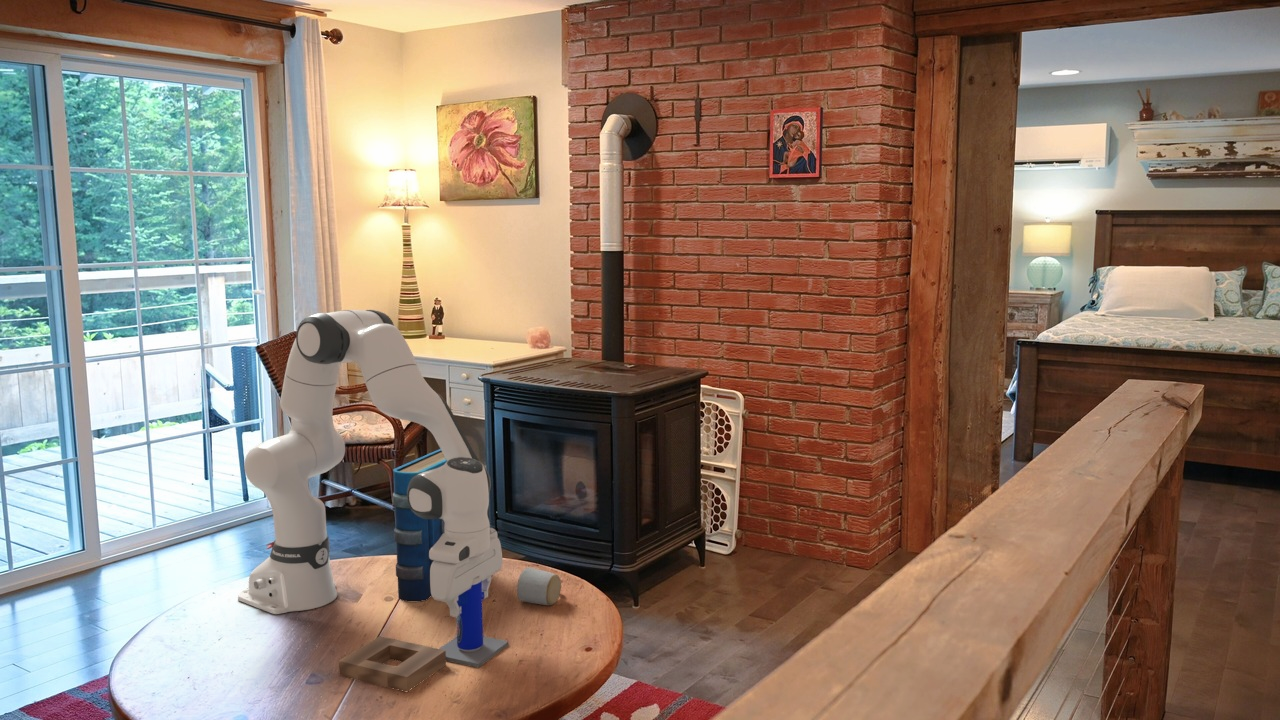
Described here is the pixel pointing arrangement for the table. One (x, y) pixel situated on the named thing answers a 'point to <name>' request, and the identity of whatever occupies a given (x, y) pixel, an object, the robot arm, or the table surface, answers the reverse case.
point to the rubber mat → (474, 652)
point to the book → (414, 532)
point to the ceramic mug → (538, 586)
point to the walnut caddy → (372, 669)
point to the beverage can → (470, 618)
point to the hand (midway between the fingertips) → (469, 606)
